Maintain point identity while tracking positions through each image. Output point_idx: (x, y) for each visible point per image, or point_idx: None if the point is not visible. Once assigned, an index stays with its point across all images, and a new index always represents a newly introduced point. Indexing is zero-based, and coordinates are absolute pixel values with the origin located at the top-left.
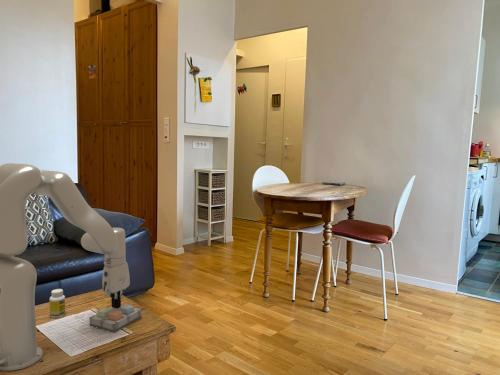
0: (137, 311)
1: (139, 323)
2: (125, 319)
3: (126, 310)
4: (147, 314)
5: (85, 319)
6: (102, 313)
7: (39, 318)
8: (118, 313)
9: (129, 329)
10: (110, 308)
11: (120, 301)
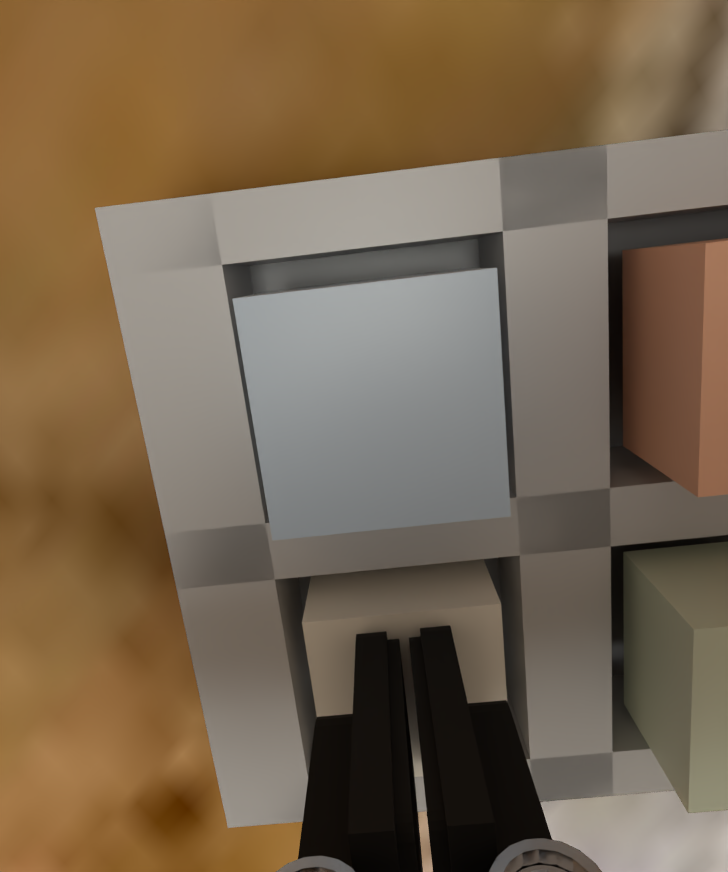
0: (224, 197)
1: (349, 49)
2: (638, 144)
3: (490, 307)
4: (4, 233)
5: (681, 852)
6: None
7: None
8: None
9: (631, 8)
10: None
11: (366, 721)
